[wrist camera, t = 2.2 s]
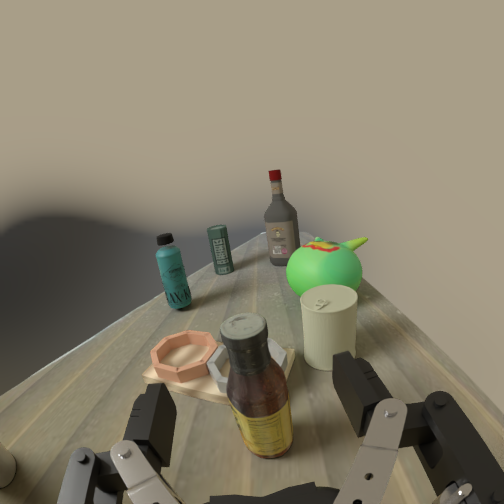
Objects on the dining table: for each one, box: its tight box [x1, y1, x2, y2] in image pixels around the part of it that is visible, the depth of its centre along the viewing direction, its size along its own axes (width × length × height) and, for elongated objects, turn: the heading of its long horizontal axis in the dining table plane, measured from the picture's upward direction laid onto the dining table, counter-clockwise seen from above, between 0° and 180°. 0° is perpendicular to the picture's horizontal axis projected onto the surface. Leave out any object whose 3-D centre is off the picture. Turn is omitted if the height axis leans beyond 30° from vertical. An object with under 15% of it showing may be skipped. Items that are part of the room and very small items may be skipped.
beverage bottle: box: [156, 233, 191, 309], centre depth 68 cm, size 6×7×20 cm
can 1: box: [207, 225, 234, 275], centre depth 90 cm, size 6×6×15 cm
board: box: [142, 342, 295, 405], centre depth 44 cm, size 24×13×2 cm, turn 70°
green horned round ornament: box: [286, 237, 368, 297], centre depth 63 cm, size 18×17×15 cm
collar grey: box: [207, 338, 288, 394], centre depth 42 cm, size 12×12×2 cm
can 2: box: [300, 284, 358, 371], centre depth 43 cm, size 9×9×12 cm
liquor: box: [264, 170, 300, 266], centre depth 88 cm, size 9×9×30 cm
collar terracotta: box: [150, 330, 218, 383], centre depth 46 cm, size 12×12×2 cm
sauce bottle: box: [220, 313, 293, 458], centre depth 26 cm, size 6×6×20 cm
